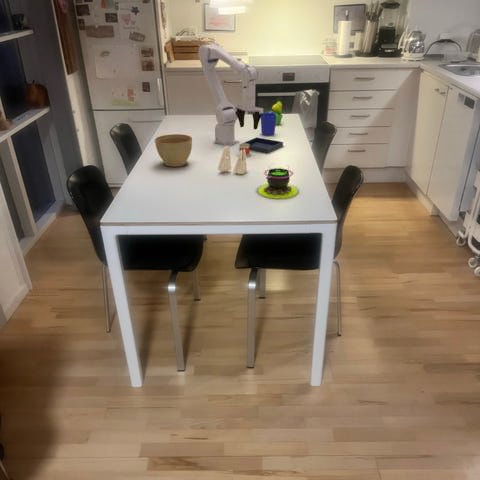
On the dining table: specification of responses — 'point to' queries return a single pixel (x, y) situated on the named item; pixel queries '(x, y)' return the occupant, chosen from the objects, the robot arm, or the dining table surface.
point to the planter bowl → (174, 149)
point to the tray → (264, 145)
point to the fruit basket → (277, 112)
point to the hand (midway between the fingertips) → (248, 127)
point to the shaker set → (226, 162)
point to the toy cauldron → (278, 184)
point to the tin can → (245, 148)
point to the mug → (268, 123)
